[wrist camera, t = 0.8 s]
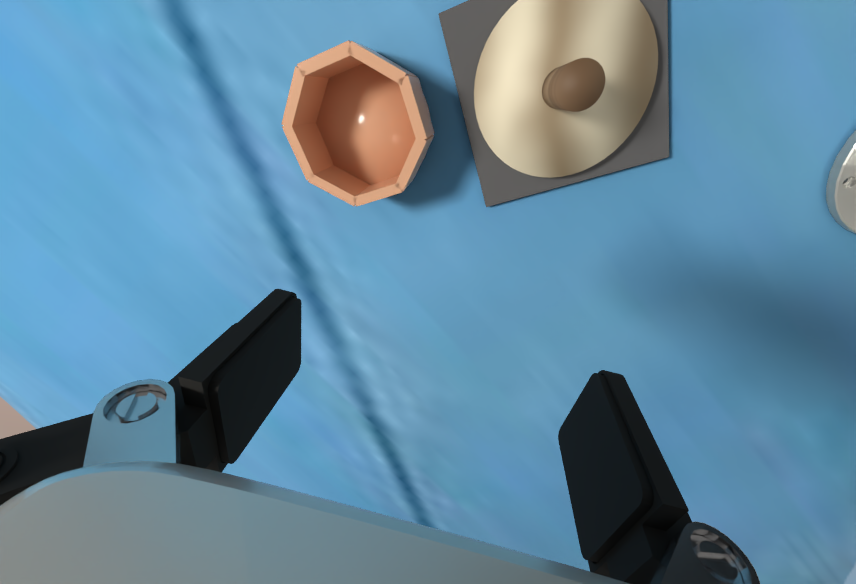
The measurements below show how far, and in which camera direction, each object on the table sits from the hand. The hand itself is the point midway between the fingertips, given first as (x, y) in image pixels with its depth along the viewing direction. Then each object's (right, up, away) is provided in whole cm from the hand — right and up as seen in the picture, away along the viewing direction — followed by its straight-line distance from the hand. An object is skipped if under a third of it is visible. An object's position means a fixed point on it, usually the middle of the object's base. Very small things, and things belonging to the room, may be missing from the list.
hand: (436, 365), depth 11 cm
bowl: (-5, +17, +20) cm, 27 cm away
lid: (+10, +18, +16) cm, 26 cm away
